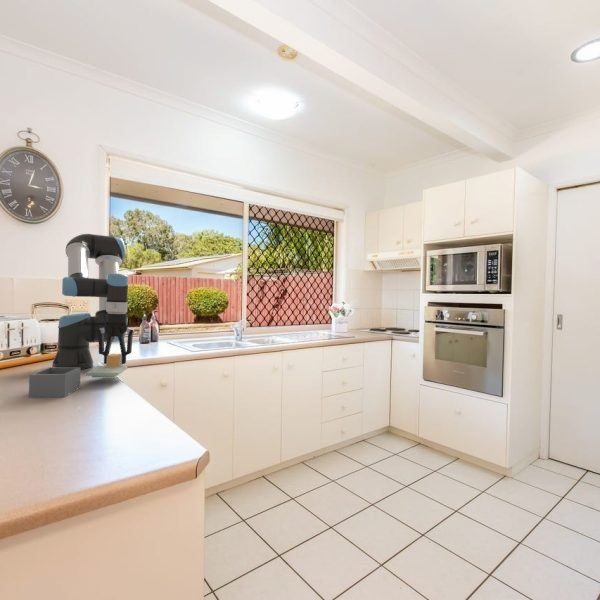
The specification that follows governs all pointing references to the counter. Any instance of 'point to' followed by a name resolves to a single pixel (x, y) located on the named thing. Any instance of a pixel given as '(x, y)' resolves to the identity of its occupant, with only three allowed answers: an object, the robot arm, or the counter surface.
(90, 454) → the counter surface
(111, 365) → the lid
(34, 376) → the tub
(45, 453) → the counter surface
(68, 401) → the counter surface
